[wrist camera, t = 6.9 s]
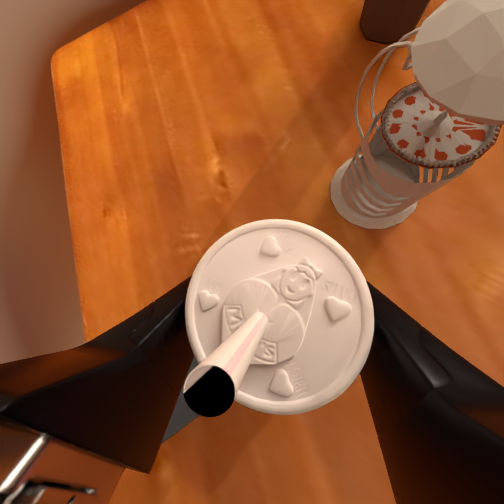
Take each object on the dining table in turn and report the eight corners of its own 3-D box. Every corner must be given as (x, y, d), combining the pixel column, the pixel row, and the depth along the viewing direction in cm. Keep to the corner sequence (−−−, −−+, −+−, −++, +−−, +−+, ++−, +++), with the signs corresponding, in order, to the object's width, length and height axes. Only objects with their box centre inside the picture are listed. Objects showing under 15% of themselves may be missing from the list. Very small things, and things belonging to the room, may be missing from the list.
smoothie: (226, 295, 16) (-61, 337, 3) (277, 242, 16) (244, 27, 3) (281, 353, 15) (243, 1165, 1) (336, 295, 15) (916, 389, 1)
